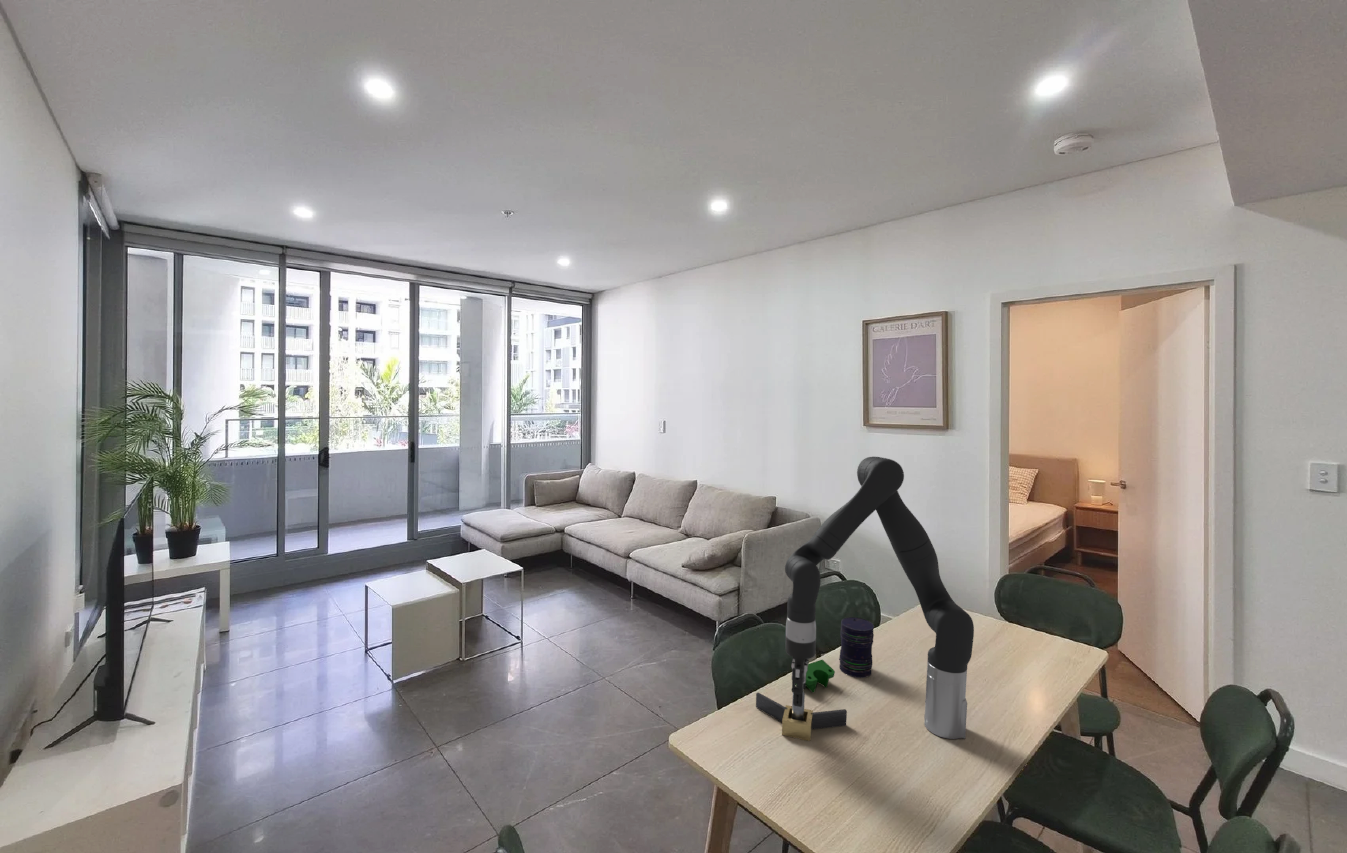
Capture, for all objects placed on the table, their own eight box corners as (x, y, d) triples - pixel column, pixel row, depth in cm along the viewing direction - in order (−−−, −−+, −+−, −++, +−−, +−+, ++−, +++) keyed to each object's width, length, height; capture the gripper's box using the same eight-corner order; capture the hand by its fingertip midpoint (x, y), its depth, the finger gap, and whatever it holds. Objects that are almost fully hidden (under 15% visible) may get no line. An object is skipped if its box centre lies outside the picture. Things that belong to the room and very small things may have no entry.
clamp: (807, 705, 160) (804, 685, 156) (793, 691, 165) (790, 671, 161) (837, 682, 165) (835, 662, 161) (823, 669, 170) (821, 649, 166)
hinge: (846, 723, 145) (846, 709, 144) (845, 748, 135) (846, 732, 134) (756, 705, 152) (756, 691, 152) (749, 727, 142) (749, 712, 142)
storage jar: (876, 678, 168) (878, 630, 167) (844, 677, 168) (846, 630, 167) (865, 662, 178) (867, 617, 177) (835, 661, 178) (837, 616, 177)
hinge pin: (803, 728, 142) (805, 690, 142) (802, 734, 140) (804, 697, 139) (792, 725, 143) (793, 688, 143) (790, 732, 141) (792, 694, 140)
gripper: (813, 649, 132) (812, 714, 133) (817, 625, 145) (816, 685, 147) (782, 644, 134) (781, 708, 135) (789, 621, 148) (787, 680, 149)
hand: (799, 696), depth 141 cm, fingers open, 8 cm apart
